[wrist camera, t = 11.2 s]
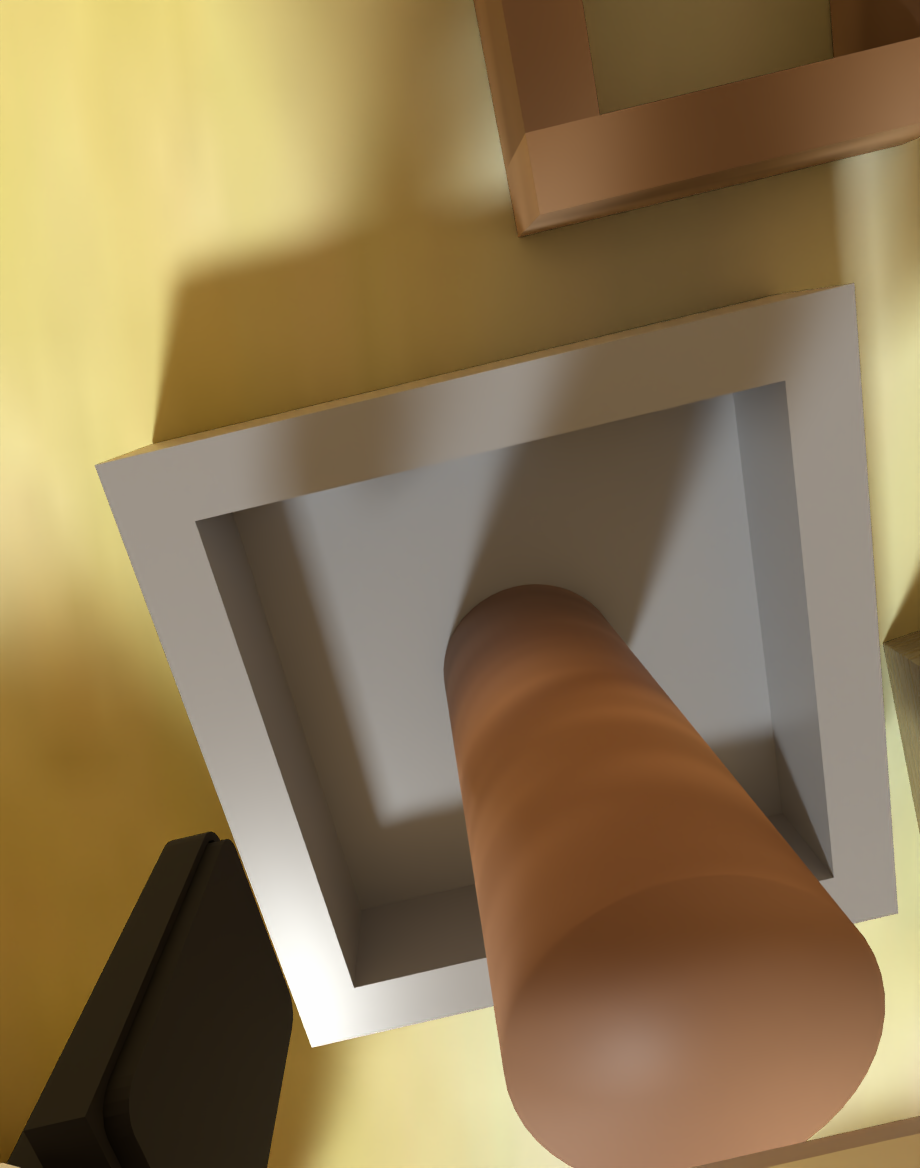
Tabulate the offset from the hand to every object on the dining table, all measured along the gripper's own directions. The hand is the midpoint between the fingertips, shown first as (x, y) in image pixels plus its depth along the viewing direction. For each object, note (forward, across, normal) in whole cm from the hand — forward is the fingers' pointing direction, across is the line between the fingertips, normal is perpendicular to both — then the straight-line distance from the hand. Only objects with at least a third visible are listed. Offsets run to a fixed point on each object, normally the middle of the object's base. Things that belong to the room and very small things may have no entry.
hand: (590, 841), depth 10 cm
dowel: (+6, 0, 0) cm, 6 cm away
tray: (+6, 0, 0) cm, 6 cm away
